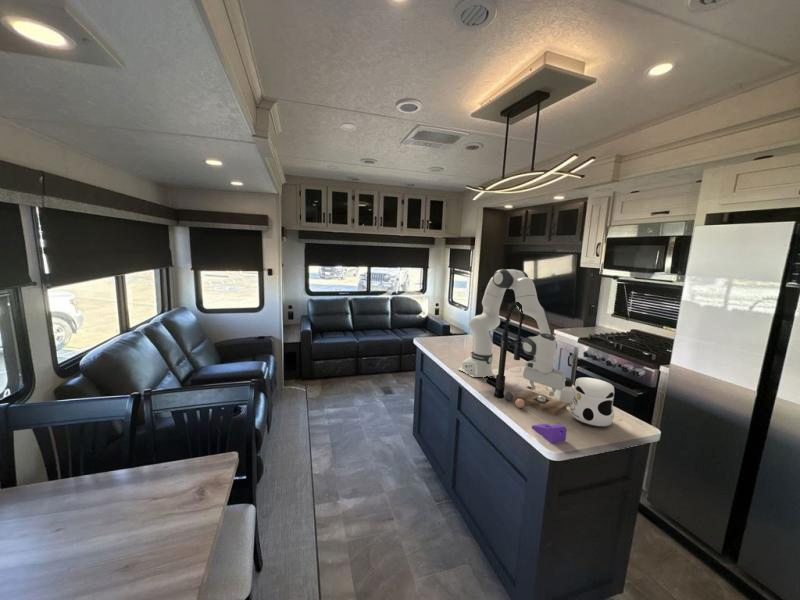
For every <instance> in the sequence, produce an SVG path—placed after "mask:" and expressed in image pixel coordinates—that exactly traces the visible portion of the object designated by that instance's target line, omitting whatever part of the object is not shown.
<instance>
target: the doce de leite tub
mask: <svg viewBox="0 0 800 600" xmlns="http://www.w3.org/2000/svg"><path fill="white" fill-rule="evenodd" d="M574 382H575V383H574V388H573V389H574V397H573V400H572V402H571V403H570V405H569V406H570V407H569V408H570V413H571V414H570V415H571V416H572V417H573V418H574V419H575V420H577V421H578V422H580V423H582V424H584V425H587V426H590V427H594V428H595V427H596V428H605V427H609V426H610V425H611V424H612V423H613V421H614V417H615V412H614V407H613V406H614V405H613V404H614V398H615V387H614V385H612V384H611V383H610V382H607V381H605V380H601V379H599V378H594V377H593V378H592V377H578V378H576V379H575V381H574Z"/></svg>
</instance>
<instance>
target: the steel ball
mask: <svg viewBox="0 0 800 600" xmlns="http://www.w3.org/2000/svg"><path fill="white" fill-rule="evenodd" d="M543 396H544V395H543ZM543 396H538V397H537V399H536V401H539V402H541V403H544V404H545V403H546V399H545V397H543Z"/></svg>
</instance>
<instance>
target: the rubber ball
mask: <svg viewBox="0 0 800 600" xmlns="http://www.w3.org/2000/svg"><path fill="white" fill-rule="evenodd" d="M504 398H505V400H506V401H512V400H513V399H514V394H513V392H511V391H506V392H505V393H504Z"/></svg>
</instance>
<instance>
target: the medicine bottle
mask: <svg viewBox="0 0 800 600" xmlns="http://www.w3.org/2000/svg"><path fill="white" fill-rule="evenodd" d="M573 383H574V380H573V379H571V378H570V377H566V378H565V388H564V389H563V390H556V391H555V392H554V398H555V400H557V401H560V402H563V403H566V404H571V402H572V400H573V397H574V388H573Z"/></svg>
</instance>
